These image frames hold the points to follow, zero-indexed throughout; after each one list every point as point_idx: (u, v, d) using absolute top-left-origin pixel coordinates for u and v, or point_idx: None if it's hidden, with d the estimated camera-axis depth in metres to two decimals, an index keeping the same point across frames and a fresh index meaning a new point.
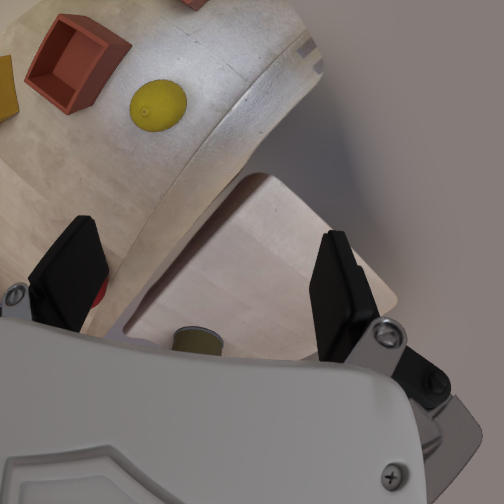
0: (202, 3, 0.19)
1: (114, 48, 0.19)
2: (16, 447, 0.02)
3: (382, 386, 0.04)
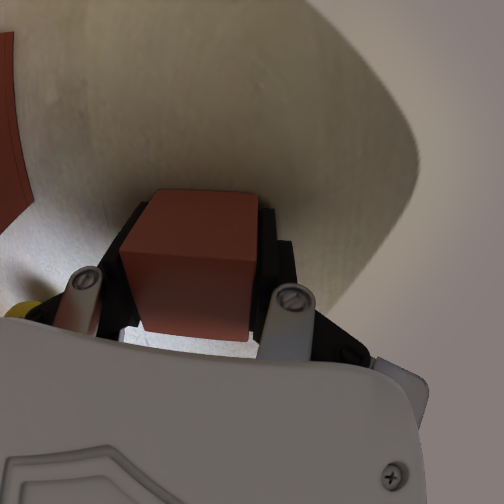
0: None
1: None
2: (16, 447, 0.02)
3: (382, 386, 0.04)
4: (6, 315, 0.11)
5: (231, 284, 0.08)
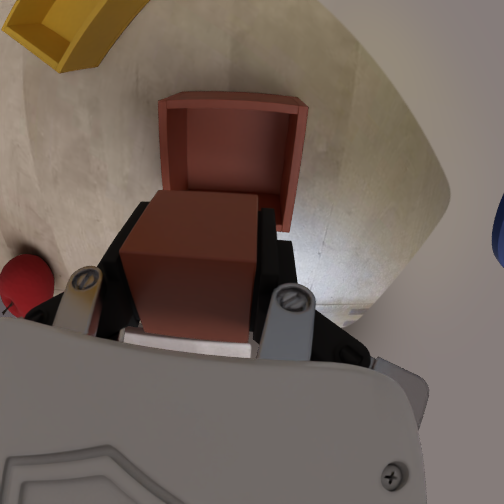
0: None
1: None
2: (16, 447, 0.02)
3: (382, 386, 0.04)
4: None
5: (231, 286, 0.08)
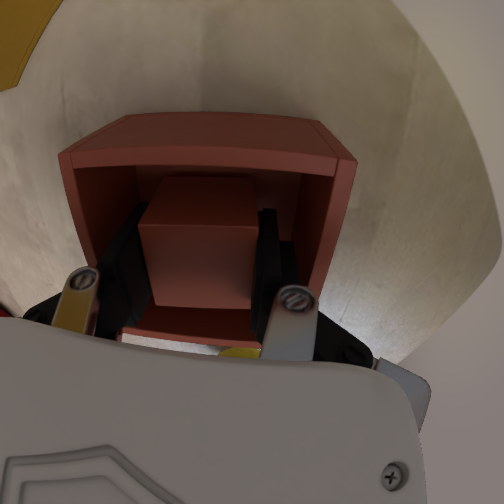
0: None
1: None
2: (16, 447, 0.02)
3: (382, 386, 0.04)
4: None
5: (237, 251, 0.09)
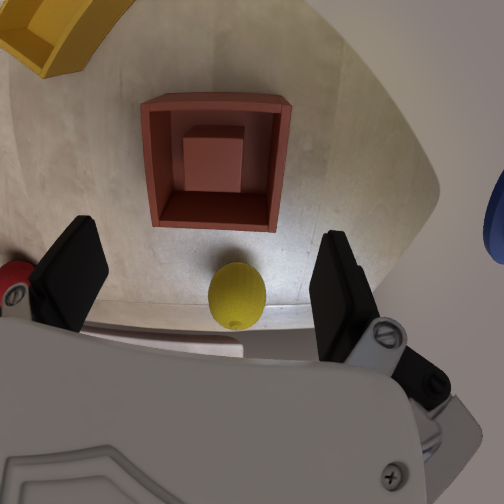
0: None
1: None
2: (16, 447, 0.02)
3: (382, 386, 0.04)
4: (228, 271, 0.25)
5: (232, 152, 0.17)
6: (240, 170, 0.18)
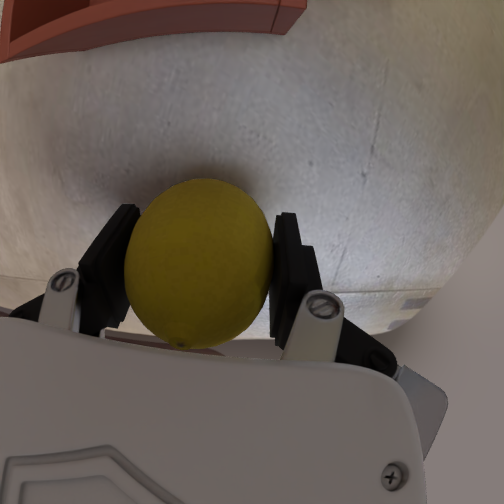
0: None
1: (278, 18, 0.05)
2: (16, 447, 0.02)
3: (382, 386, 0.04)
4: (175, 188, 0.09)
5: None
6: None
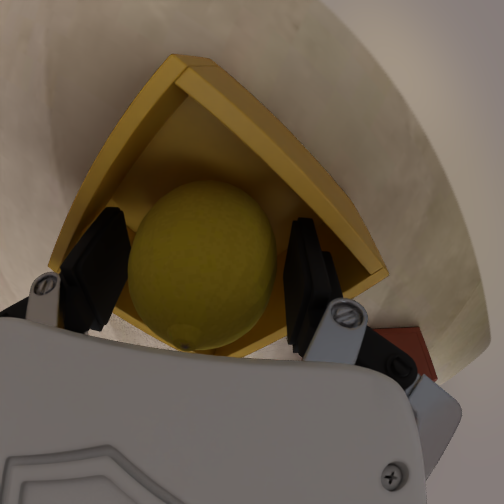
0: None
1: None
2: (16, 447, 0.02)
3: (382, 386, 0.04)
4: (179, 190, 0.09)
5: None
6: None
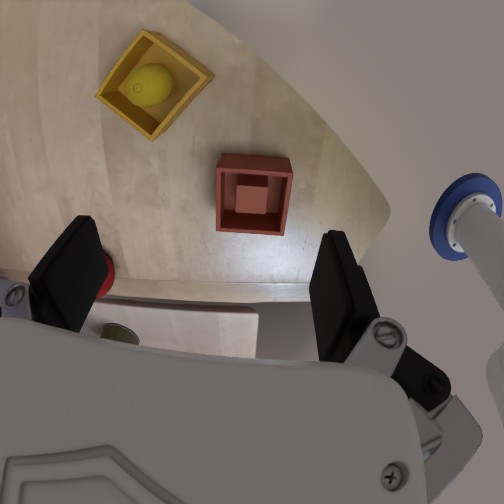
0: None
1: None
2: (16, 447, 0.02)
3: (382, 386, 0.04)
4: None
5: (262, 194, 0.35)
6: (266, 203, 0.36)
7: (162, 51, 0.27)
